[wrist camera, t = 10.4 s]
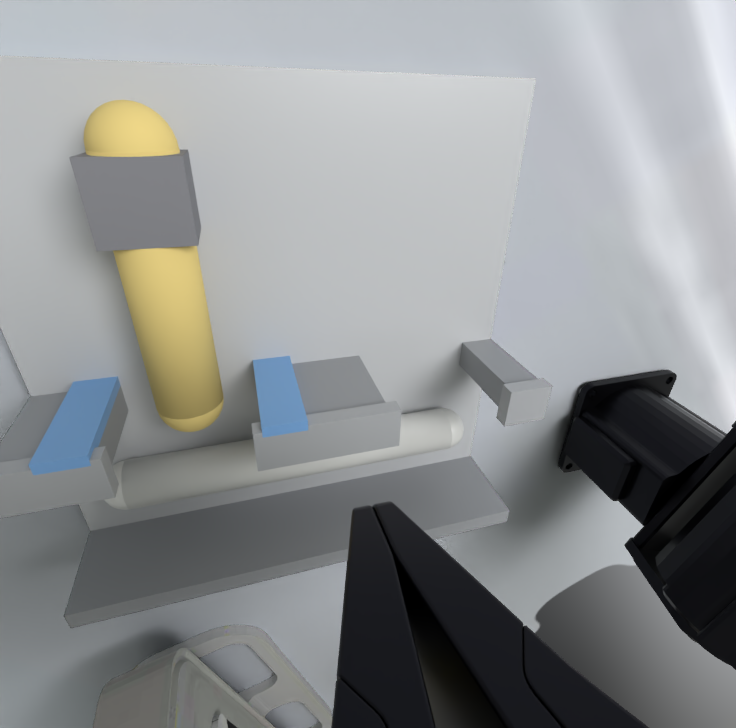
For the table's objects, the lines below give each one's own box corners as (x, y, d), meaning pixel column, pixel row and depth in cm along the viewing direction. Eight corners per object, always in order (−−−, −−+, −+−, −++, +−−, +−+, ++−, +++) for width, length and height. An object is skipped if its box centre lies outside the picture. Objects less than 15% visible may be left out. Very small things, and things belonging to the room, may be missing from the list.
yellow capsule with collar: (78, 99, 12) (51, 97, 10) (180, 101, 13) (172, 100, 11) (162, 413, 18) (155, 450, 16) (231, 403, 19) (232, 438, 17)
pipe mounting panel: (526, 79, 16) (637, 68, 12) (463, 459, 25) (513, 531, 21) (-107, 53, 11) (-307, 18, 7) (98, 532, 21) (66, 644, 16)
